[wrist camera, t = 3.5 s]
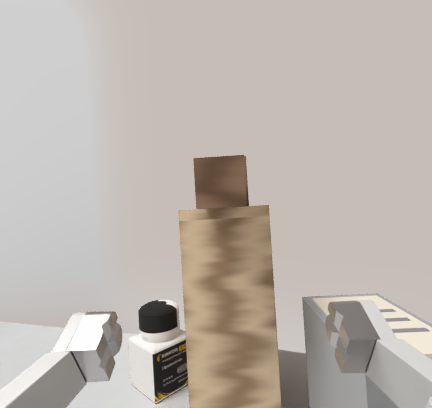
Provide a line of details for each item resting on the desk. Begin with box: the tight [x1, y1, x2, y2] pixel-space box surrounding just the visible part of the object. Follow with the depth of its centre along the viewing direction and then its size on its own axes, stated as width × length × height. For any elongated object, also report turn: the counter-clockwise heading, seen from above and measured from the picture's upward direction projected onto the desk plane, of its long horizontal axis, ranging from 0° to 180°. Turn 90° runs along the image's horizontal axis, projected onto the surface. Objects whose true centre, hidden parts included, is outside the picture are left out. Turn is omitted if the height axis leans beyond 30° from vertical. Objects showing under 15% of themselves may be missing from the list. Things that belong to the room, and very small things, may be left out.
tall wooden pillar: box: [179, 205, 281, 408], centre depth 38 cm, size 10×14×26 cm
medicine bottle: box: [129, 300, 188, 403], centre depth 43 cm, size 7×7×12 cm
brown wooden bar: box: [194, 155, 249, 209], centre depth 31 cm, size 6×18×6 cm, turn 178°
